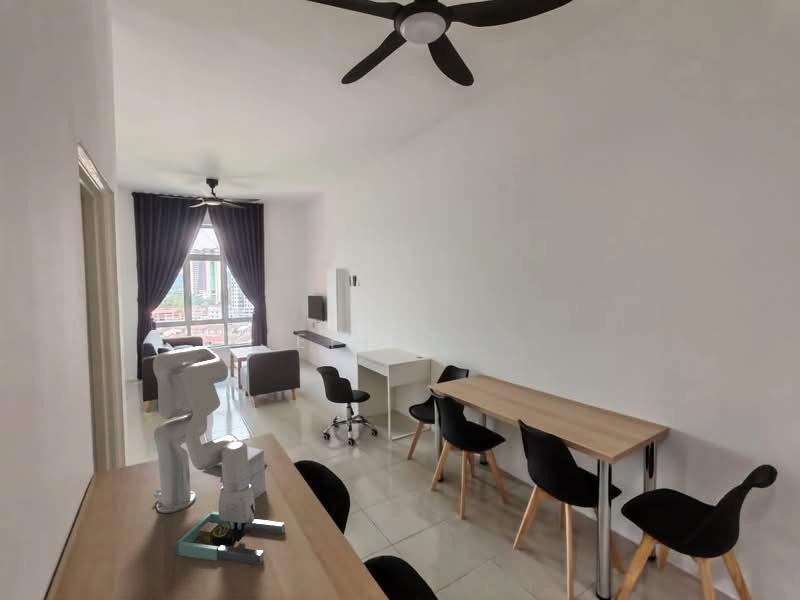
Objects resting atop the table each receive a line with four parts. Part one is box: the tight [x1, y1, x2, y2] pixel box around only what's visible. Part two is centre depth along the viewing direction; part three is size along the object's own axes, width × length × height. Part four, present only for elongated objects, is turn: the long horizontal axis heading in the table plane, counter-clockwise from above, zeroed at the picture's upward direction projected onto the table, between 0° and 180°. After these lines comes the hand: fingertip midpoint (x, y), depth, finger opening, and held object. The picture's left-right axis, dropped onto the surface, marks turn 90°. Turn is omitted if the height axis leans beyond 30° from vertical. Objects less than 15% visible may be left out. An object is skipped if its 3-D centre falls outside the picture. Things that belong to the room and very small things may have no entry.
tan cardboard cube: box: [198, 522, 220, 545], centre depth 121 cm, size 4×4×4 cm
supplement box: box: [247, 446, 267, 501], centre depth 144 cm, size 10×9×17 cm
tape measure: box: [211, 525, 234, 547], centre depth 119 cm, size 7×7×4 cm
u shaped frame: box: [174, 510, 230, 561], centre depth 120 cm, size 14×16×4 cm
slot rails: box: [217, 518, 286, 566], centre depth 118 cm, size 14×15×3 cm
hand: (239, 538), depth 118 cm, fingers closed
